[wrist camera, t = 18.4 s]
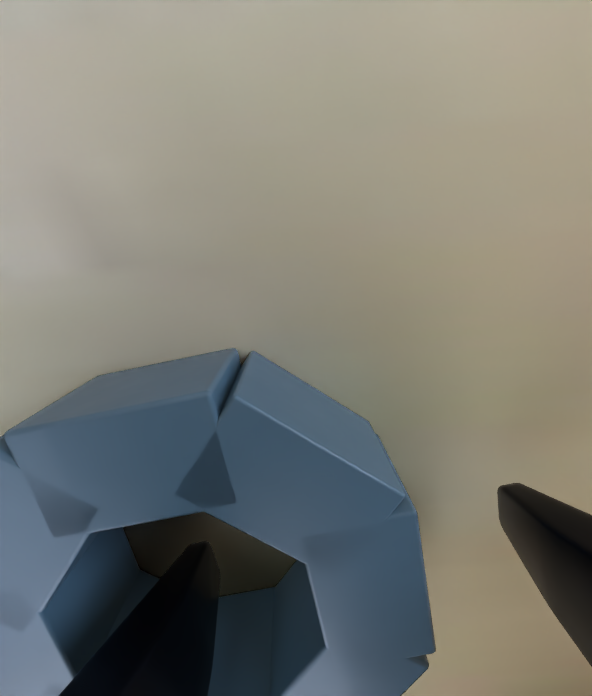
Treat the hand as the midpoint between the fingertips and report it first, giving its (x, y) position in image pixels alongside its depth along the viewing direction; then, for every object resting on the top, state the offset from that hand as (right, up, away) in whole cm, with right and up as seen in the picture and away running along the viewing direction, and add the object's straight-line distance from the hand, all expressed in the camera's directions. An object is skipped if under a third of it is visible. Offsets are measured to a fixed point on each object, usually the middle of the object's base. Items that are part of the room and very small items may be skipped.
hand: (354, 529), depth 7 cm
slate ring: (-3, 0, +1) cm, 3 cm away
